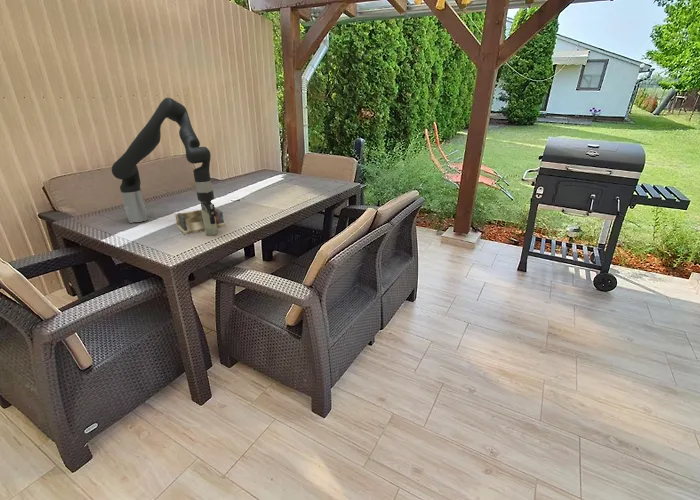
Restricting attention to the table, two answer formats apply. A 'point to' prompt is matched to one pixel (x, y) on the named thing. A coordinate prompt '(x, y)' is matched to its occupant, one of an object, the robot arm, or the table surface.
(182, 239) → the table surface
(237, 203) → the table surface
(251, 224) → the table surface
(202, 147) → the robot arm
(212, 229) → the box
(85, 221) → the table surface
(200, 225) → the shelf
